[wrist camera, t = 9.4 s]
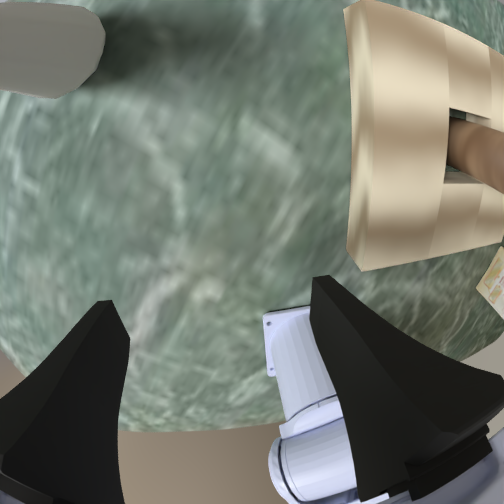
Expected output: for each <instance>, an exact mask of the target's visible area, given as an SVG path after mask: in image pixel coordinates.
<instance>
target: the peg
mask: <svg viewBox="0 0 504 504" xmlns="http://www.w3.org/2000/svg"><path fill="white" fill-rule="evenodd" d="M446 164H447V165H449V166H451V167H453V168H456V169H458V170H460V171H462V172H464V173H466V174H468V175H470V176H472V177H473V178H475V179H477V180H479V181H481V182H483V183H485V184H487V185H488V186H490V187H492V188H494V189H495V190H497V191H499V192H501V193H502V194H504V132H501V131H498V130H495V129H492V128H489V127H486V126H483V125H480V124H476V123H473V122H470V121H466V120H462V119H459V118H455V117H451V116H449V130H448V145H447V157H446Z"/></svg>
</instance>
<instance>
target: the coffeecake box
mask: <svg viewBox="0 0 504 504" xmlns="http://www.w3.org/2000/svg"><path fill="white" fill-rule="evenodd" d="M476 289H477V291H478V292H479V293H480V294H481V295H482V296H483V297H484V298H485V299H486V300H487V301H488V302H489V303H490V305H491V306H492V307H493V308H494V309H495V310H496V311H497V313H498V314H499V315H500V316H501V317H502V318H503V319H504V248H503V247H502V246H500V248H499V249H498V251H497V253H496V255H495V257H494V258H493V260H492V262H491V264H490V266H489V268H488V269H487V271H486V272H485V274H484V275H483V277H482V279H481V280H480V282H479V283H478V285H477V286H476Z"/></svg>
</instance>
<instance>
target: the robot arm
mask: <svg viewBox="0 0 504 504" xmlns="http://www.w3.org/2000/svg"><path fill="white" fill-rule="evenodd" d="M267 322H269V323H267ZM263 327H264V339H265V350H266V362H267V373H268V376H276V377H277V381H278V386H279V391H280V395H281V400H282V404H283V409H284V413H285V418H286V423H285V424H282V425H280V426H279V428H280V433H281V437H278V438H277V439H275V440H274V442H273V444H272V447H271V450H270V452H269V459H268V464H269V471H270V475H271V479H272V482H273V484H274V486H275V488H276V490H277V491H278V493H279V494H280V495H281V496H282V497H283V498H284V499H285V500H286V501H287V502H288V503H289V504H504V427H503V428H502V429H501V430H500V431H498V432H497V433H496V434H495V435H494V436H492V437H491V438H490V439H489V440H488V439H487V437H486V434H487V433H489V428H488V426H487V423H488V422H489V421H490V420H491V419H492V418H494V417H495V416H496V415H497V414H498V413H499V412H500V411H501V410H502V409H503V408H504V380H503V378H502V376H501V375H498V374H494V373H491V372H488V371H484V370H481V369H477V368H474V367H471V366H469V365H466V364H464V363H461V362H459V361H456V360H454V359H451V358H449V357H447V356H445V355H443V354H441V353H439V352H437V351H435V350H433V349H431V348H429V347H427V346H425V345H423V344H421V343H420V342H418V341H416V340H415V339H413V338H411V337H410V336H408V335H406V334H405V333H403V332H402V331H400V330H398V329H397V328H395V327H394V326H393V325H391V324H390V323H388V322H387V321H386V320H384V319H383V318H381V317H380V316H379V315H377V314H376V313H375V312H374V311H372V310H371V309H370V308H368V307H367V306H366V305H365V304H363V303H362V302H361V301H360V300H359V299H357V298H356V297H355V296H354V295H353V294H351V293H350V292H349V291H348V290H347V289H345V288H344V287H343V286H342V285H341V284H339V283H338V282H337V281H336V280H335V279H334V278H332V277H331V276H330V275H325V276H319V277H313V280H312V293H311V304H310V306H306V307H300V308H295V309H289V310H282V311H276V312H270V313H266V314H264V315H263ZM129 348H130V337H129V335H128V333H127V331H126V329H125V327H124V325H123V323H122V321H121V319H120V317H119V315H118V312H117V310H116V308H115V306H114V304H113V302H112V300H105V301H98V302H96V303H95V304H94V305H93V306H92V307H91V308H90V309H89V311H88V312H87V313H86V314H85V315H84V316H83V317H82V318H81V319H80V321H79V322H78V323H77V324H76V325H75V326H74V327H73V328H72V330H71V331H70V332H69V333H68V334H67V335H66V337H65V338H64V339H63V340H62V341H61V342H60V343H59V344H58V345H57V347H56V348H55V349H54V350H53V351H52V352H51V353H50V354H49V355H48V357H47V358H46V359H45V360H44V361H43V362H42V363H41V364H40V365H39V366H38V367H37V368H36V369H35V370H34V371H33V372H32V373H31V374H30V375H29V376H27V377H26V378H25V379H24V380H23V381H22V382H21V383H19V384H18V385H17V386H16V387H15V388H13V389H12V390H11V391H10V392H9V393H8V394H6V395H5V396H3V397H2V398H1V399H0V504H125V502H124V498H123V493H122V487H121V482H120V473H119V464H118V440H117V438H118V437H117V436H118V416H119V409H120V403H121V397H122V392H123V387H124V382H125V376H126V371H127V366H128V360H129Z"/></svg>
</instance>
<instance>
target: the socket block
mask: <svg viewBox="0 0 504 504" xmlns="http://www.w3.org/2000/svg"><path fill="white" fill-rule="evenodd" d="M343 12H344V19H345V27H346V36H347V46H348V57H349V69H350V86H351V112H352V161H351V189H350V207H349V221H348V233H347V244H346V251H347V252H348V253H349V255H350V256H351V257H352V259H353V260H354V261H355V263H356V264H357V266H358V267H359V268H360V270H361V271H362V272H363V271H368V270H374V269H379V268H384V267H390V266H395V265H400V264H405V263H410V262H415V261H419V260H424V259H429V258H434V257H438V256H443V255H448V254H452V253H457V252H461V251H465V250H470V249H474V248H478V247H482V246H487V245H491V244H495V243H499V242H502V238H503V235H504V194H502V193H501V192H499V191H497V190H495V189H494V188H492V187H490V186H488V185H487V184H485V183H483V182H481V181H479V180H477V179H475V178H473V177H472V176H470V175H468V174H466V173H464V172H450V171H445V166H446V157H447V145H448V130H449V108H451V109H455V110H459V111H463V112H466V121H470V122H473V123H476V124H480V125H483V126H486V127H489V128H492V129H495V130H498V131H501V132H504V56H503V55H501V54H500V53H498V52H497V51H495V50H493V49H492V48H490V47H488V46H487V45H485V44H483V43H481V42H480V41H478V40H476V39H474V38H472V37H470V36H468V35H466V34H464V33H462V32H460V31H458V30H456V29H454V28H452V27H450V26H447V25H445V24H443V23H441V22H438V21H436V20H433V19H431V18H428V17H426V16H423V15H420V14H418V13H415V12H412V11H409V10H406V9H403V8H400V7H397V6H393V5H390V4H386V3H383V2H379V1H375V0H360V1H358V2H356V3H354V4H352V5H350V6H348V7H347V8H345V9H343Z"/></svg>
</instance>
